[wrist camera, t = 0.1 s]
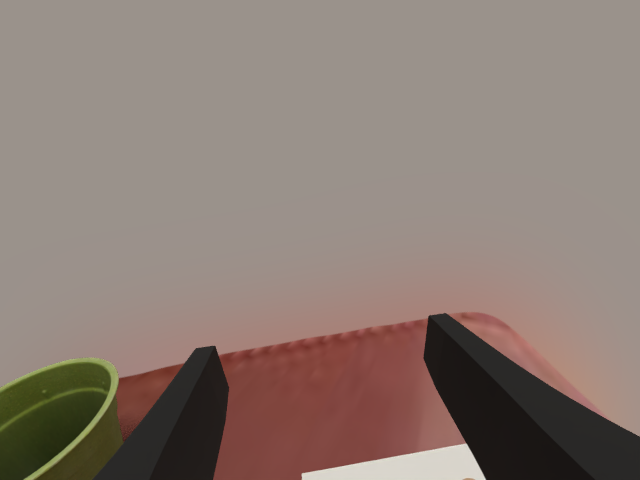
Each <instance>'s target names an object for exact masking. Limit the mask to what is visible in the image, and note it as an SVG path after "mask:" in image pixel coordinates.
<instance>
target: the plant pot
mask: <svg viewBox="0 0 640 480" xmlns="http://www.w3.org/2000/svg"><path fill="white" fill-rule="evenodd" d="M118 383H119V377H118V372H117V370H116V368H115V366H113V365H112V363H110V362H108V361H106V360H103V359H99V358H79V359H72V360H67V361H63V362H59V363H56V364H53V365H49V366H46V367H44V368H41V369H39V370H36V371H34V372H31V373H29V374H27V375H24V376H22V377H20V378H18V379H16V380H14V381H12V382H10V383H8V384H6V385H4V386H2V387H0V480H92V479H93V478H94V477H95V476H96V475H97V473H98V472H99V471H100V470H101V469H102V468H103V467H104V465H105V464H106V463H107V462H108V461H109V460H110V459H111V457H112V456H113V455H114V454H115V453H116V451H117V450H118V449H119V448H120V447H121V445H122V444H123V438H122V434H121V429H120V425H119V420H118V416H117V399H116V392H117V389H118Z"/></svg>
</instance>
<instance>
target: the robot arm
mask: <svg viewBox="0 0 640 480" xmlns="http://www.w3.org/2000/svg"><path fill="white" fill-rule="evenodd" d="M424 361H425V363H426V366H427V368H428V371H429V373H430V375H431V378H432V380H433V382H434V385H435V387H436V389H437V391H438V393H439V395H440V397H441V398H442V400H443V402H444V404H445V406H446V407H447V409H448V411H449V413H450V415H451V417H452V418H453V420H454V422H455V424H456V425H457V427H458V429H459V431H460V433H461V434H462V436H463V438H464V440H465V442H466V443H467V445H468V447H469V449H470V451H471V452H472V454H473V456H474V458H475V460H476V462H477V463H478V465H479V467H480V469H481V471H482V473H483V475H484V477H485V479H486V480H640V437H639V436H637V435H636V434H633V433H632V432H630V431H628V430H626V429H624V428H622V427H620V426H618V425H617V424H615V423H613V422H611V421H609V420H607V419H606V418H604V417H602V416H600V415H598V414H597V413H595V412H593V411H591V410H590V409H588V408H586V407H585V406H583V405H581V404H579V403H578V402H576V401H574V400H572V399H571V398H569V397H567V396H566V395H564V394H562V393H561V392H559V391H557V390H556V389H554V388H553V387H551V386H549V385H548V384H546V383H545V382H543V381H542V380H540V379H539V378H537V377H535V376H534V375H532V374H531V373H529V372H528V371H526V370H525V369H523V368H522V367H520V366H519V365H517V364H516V363H514V362H513V361H511V360H510V359H509V358H507V357H506V356H504V355H503V354H501V353H500V352H499V351H497V350H496V349H494V348H493V347H492V346H490V345H489V344H487V343H486V342H485V341H483V340H482V339H480V338H479V337H478V336H476V335H475V334H474V333H472V332H471V331H470V330H468V329H467V328H466V327H464V326H463V325H461V324H460V323H459V322H457V321H456V320H455V319H453V318H452V317H450V316H449V315H448V314H446V313H444V314H437V315H430V316H429V317H428V326H427V334H426V342H425V350H424ZM228 392H229V386H228V383H227V380H226V377H225V374H224V371H223V368H222V365H221V362H220V359H219V356H218V353H217V350H216V347H215V346H210V347H202V348H196V349H195V350H194V352H193V353H192V354H191V355H190V357H189V358H188V360H187V361H186V362H185V364H184V365H183V366H182V368H181V369H180V371H179V372H178V373H177V375H176V376H175V377H174V379H173V380H172V382H171V383H170V384H169V386H168V387H167V388H166V390H165V391H164V392H163V394H162V395H161V396H160V398H159V399H158V400H157V402H156V403H155V404H154V405H153V407H152V408H151V409H150V411H149V412H148V413H147V415H146V416H145V417H144V418H143V420H142V421H141V422H140V423H139V425H138V426H137V427H136V428H135V430H134V431H133V432H132V433H131V434H130V436H129V437H128V438H127V439H126V441H125V442H124V443H123V444H122V445H121V447H120V448H119V449H118V450H117V451H116V453H115V454H114V455H113V456H112V457H111V459H110V460H109V461H108V462H107V463H106V464H105V465H104V467H103V468H102V469H101V470H100V471H99V472H98V473H97V475H96V476H95V477H94V478H93V479H92V480H213V477H214V472H215V467H216V463H217V458H218V454H219V449H220V444H221V440H222V435H223V430H224V425H225V420H226V411H227V402H228Z"/></svg>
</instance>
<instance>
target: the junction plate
mask: <svg viewBox="0 0 640 480" xmlns="http://www.w3.org/2000/svg"><path fill="white" fill-rule="evenodd" d="M302 480H486V479H485V477H484V475H483V473H482V471H481V469H480V467H479V465H478V463H477V462H476V460H475V458H474V456H473V454H472V452H471V451H470V449H469V447H468V445H467V444H461V445H456V446H451V447H445V448H440V449H434V450H429V451H423V452H418V453H412V454H407V455H401V456H396V457H390V458H385V459H380V460H374V461H369V462H363V463H358V464H352V465H347V466H341V467H336V468H330V469H325V470H319V471H314V472H309V473H303V474H302Z"/></svg>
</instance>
